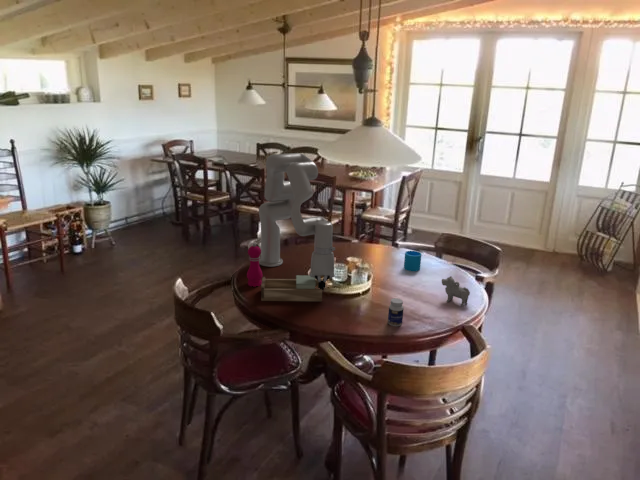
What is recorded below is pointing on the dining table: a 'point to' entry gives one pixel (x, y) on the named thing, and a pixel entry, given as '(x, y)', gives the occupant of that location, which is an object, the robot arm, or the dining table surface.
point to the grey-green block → (305, 282)
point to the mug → (412, 261)
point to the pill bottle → (395, 312)
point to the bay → (287, 291)
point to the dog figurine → (455, 290)
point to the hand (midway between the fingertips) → (321, 289)
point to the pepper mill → (254, 266)
